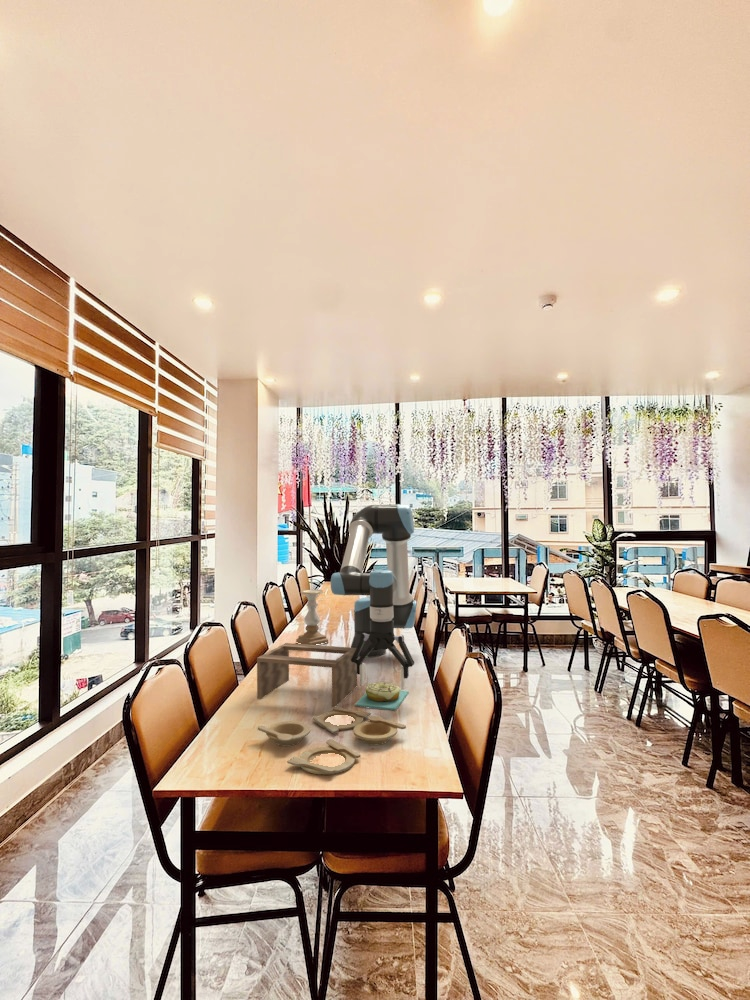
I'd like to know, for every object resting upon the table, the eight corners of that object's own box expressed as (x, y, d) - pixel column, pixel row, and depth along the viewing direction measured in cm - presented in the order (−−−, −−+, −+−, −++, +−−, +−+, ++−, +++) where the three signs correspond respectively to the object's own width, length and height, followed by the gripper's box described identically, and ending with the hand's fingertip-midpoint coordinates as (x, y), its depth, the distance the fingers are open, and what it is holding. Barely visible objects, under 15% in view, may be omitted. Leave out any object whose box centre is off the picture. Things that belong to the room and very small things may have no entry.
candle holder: (295, 643, 240) (295, 591, 241) (314, 639, 248) (314, 588, 248) (309, 647, 232) (309, 593, 233) (329, 643, 240) (328, 590, 240)
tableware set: (319, 787, 113) (318, 768, 113) (243, 747, 133) (243, 731, 133) (419, 736, 139) (419, 720, 139) (343, 709, 159) (343, 695, 159)
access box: (285, 679, 186) (285, 643, 187) (357, 686, 178) (356, 647, 179) (257, 698, 167) (257, 657, 168) (335, 706, 159) (335, 663, 160)
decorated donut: (393, 705, 159) (393, 692, 159) (361, 701, 162) (360, 689, 162) (403, 693, 168) (403, 682, 169) (372, 690, 172) (372, 678, 172)
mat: (370, 689, 175) (370, 687, 175) (408, 693, 171) (408, 691, 171) (354, 706, 160) (354, 704, 160) (396, 710, 156) (395, 708, 156)
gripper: (340, 619, 166) (341, 686, 166) (417, 623, 159) (418, 693, 158) (348, 615, 173) (349, 679, 173) (422, 618, 166) (423, 685, 165)
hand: (382, 686), depth 166 cm, fingers open, 13 cm apart
